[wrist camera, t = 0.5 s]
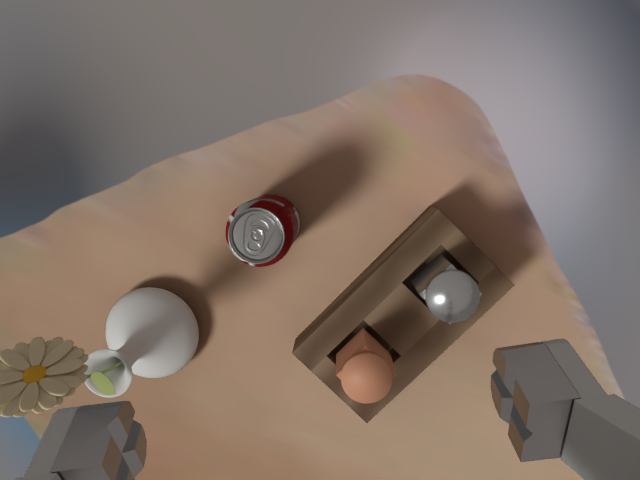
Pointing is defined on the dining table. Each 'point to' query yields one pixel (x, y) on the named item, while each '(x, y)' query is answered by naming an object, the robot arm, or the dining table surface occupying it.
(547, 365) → the robot arm
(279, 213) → the soda can
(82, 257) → the dining table surface
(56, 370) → the flower in vase
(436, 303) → the metal plunger
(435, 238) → the walnut block
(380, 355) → the terracotta plunger
